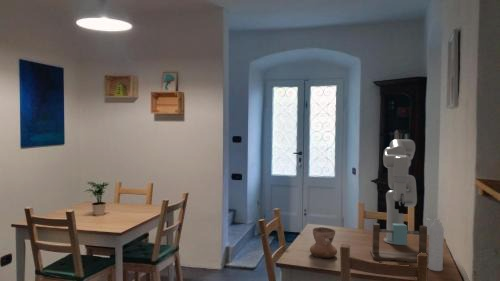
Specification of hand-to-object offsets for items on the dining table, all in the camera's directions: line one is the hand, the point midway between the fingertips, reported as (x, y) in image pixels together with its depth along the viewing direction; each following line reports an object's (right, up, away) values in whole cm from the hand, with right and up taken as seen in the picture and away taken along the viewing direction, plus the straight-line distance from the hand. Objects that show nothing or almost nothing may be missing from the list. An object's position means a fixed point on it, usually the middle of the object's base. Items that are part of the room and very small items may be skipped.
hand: (399, 211), depth 215 cm
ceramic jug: (-41, -24, +2) cm, 47 cm away
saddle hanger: (-1, -17, -1) cm, 17 cm away
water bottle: (+10, -26, -17) cm, 32 cm away
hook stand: (-1, -25, 0) cm, 25 cm away
